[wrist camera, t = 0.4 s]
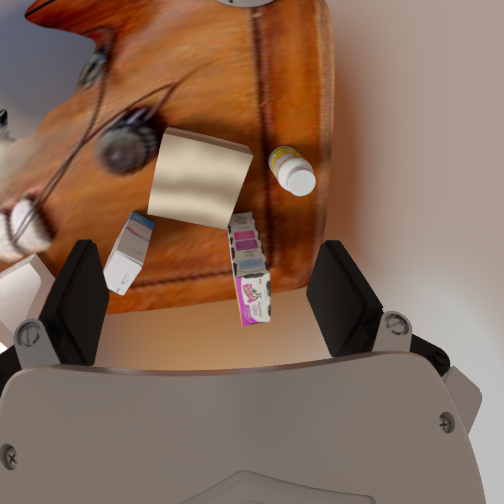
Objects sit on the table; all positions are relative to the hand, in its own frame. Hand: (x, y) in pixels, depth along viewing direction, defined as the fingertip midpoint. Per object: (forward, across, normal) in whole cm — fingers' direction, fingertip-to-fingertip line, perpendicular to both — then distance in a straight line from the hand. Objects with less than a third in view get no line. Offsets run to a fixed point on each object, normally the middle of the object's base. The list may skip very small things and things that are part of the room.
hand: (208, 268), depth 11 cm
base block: (+34, +1, +8) cm, 35 cm away
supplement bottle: (+34, -13, +5) cm, 37 cm away
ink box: (+34, +13, +20) cm, 42 cm away
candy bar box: (+34, -8, +21) cm, 41 cm away
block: (+35, +53, +35) cm, 72 cm away
